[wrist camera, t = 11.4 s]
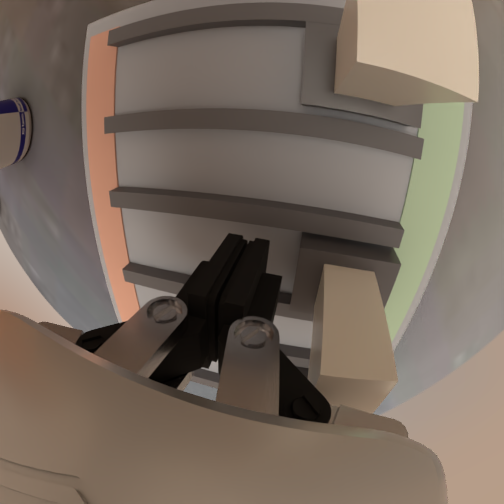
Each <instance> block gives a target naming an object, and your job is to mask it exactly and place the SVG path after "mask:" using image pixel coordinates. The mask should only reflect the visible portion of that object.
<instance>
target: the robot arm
mask: <svg viewBox="0 0 504 504" xmlns="http://www.w3.org/2000/svg"><path fill="white" fill-rule="evenodd" d="M269 245H270V240H266V239H260V238H255V240H254V241H251V240H250V241H249V243H248V241H247V240H245V239H243V235H238V234H232V233H228V235H227V236H226V237H225V239H224V240H223V242H222V243H221V245H220V246H219V247H218V249H217V250H216V252H215V253H214V255H213V256H212V257H211V259H210V260H209V261H201V262H200V264H199V265H198V266H197V268H196V269H195V270H194V272H193V273H192V275H191V276H190V277H189V279H188V280H187V282H186V283H185V284H184V286H183V287H182V289H181V290H180V291H179V293H178V294H177V296H176V297H173V296H160V297H156V298H154V299H151V300H150V301H148V302H147V303H146V304H145V305H144V306H143V307H142V308H141V309H139V310H138V311H137V312H136V313H135V314H134V315H133V316H132V317H131V318H130V319H129V320H128V321H125V322H121V323H117V324H113V325H110V326H106V327H102V328H98V329H94V330H91V331H88V332H85V333H83V331H82V330H77V329H73V328H69V327H65V326H60V325H57V324H53V323H49V322H40V323H37V322H35V321H33V320H31V319H29V318H27V317H25V316H23V315H20V314H18V313H14V312H11V311H7V310H0V504H448V497H447V486H446V480H445V474H444V470H443V467H442V464H441V462H440V460H439V458H438V457H437V455H436V454H435V453H434V452H433V451H432V450H431V449H429V448H427V447H426V446H424V445H422V444H421V443H419V442H416V441H414V440H412V439H409V438H408V432H407V430H406V428H405V426H404V425H403V424H402V423H401V422H399V421H397V420H395V419H391V418H387V417H383V416H379V415H375V414H372V413H368V412H364V411H361V410H357V409H354V408H351V407H347V406H344V405H340V406H339V407H337V406H334V405H331V404H329V402H328V401H327V399H326V398H325V397H324V396H323V395H322V394H321V393H320V392H319V391H318V390H317V388H316V387H315V386H314V385H313V384H312V383H311V382H310V381H309V380H308V379H307V378H306V377H305V376H304V375H303V374H302V373H301V371H300V370H299V369H298V368H297V367H296V366H295V365H294V364H293V363H292V362H291V361H290V360H289V358H288V357H287V356H286V355H285V354H284V353H283V352H282V351H281V350H280V349H279V347H280V336H279V331H278V329H277V328H276V326H275V325H274V324H273V321H274V317H275V312H276V308H277V303H278V298H279V293H280V288H281V282H282V276H280V275H275V274H269V273H266V268H267V261H268V253H269ZM217 360H218V373H219V374H220V380H219V385H218V390H217V396H216V401H213V400H209V399H206V398H203V397H200V396H196V395H193V394H190V393H187V392H184V391H183V390H184V389H185V388H186V386H187V385H188V383H189V382H190V380H191V379H192V377H193V375H194V371H195V370H198V369H200V368H202V367H203V368H207V369H209V367H210V365H211V362H212V361H213V362H217Z"/></svg>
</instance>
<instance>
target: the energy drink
mask: <svg viewBox="0 0 504 504" xmlns="http://www.w3.org/2000/svg"><path fill="white" fill-rule="evenodd" d="M31 132H32V121H31V114H30V110H29V107H28V105H27V103H26V102H25V101H24V100H23V99H21V98H12V99H8V100H3V101H0V169H1V168H4V167H6V166H8V165H11V164H13V163H16V162H18V161H20V160H21V159H22V158H23V157H24V155H25V154H26V152H27V150H28V147H29V144H30V140H31Z"/></svg>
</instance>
